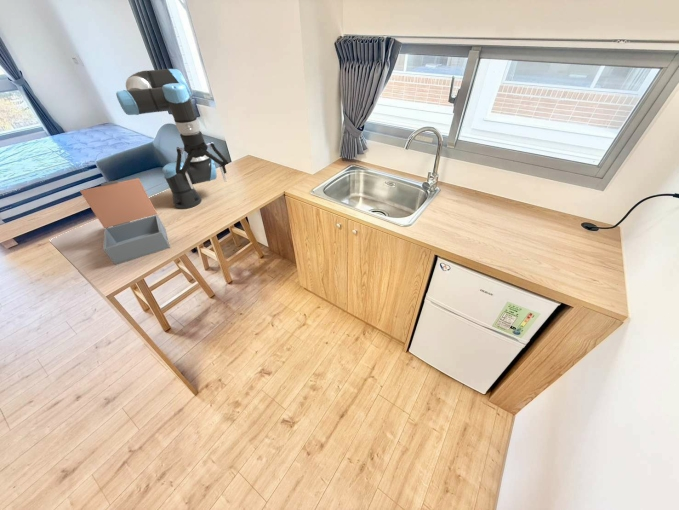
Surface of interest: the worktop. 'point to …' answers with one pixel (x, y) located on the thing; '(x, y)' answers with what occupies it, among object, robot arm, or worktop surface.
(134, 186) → the lid
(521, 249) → the worktop surface
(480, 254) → the worktop surface
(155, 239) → the box
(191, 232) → the worktop surface
